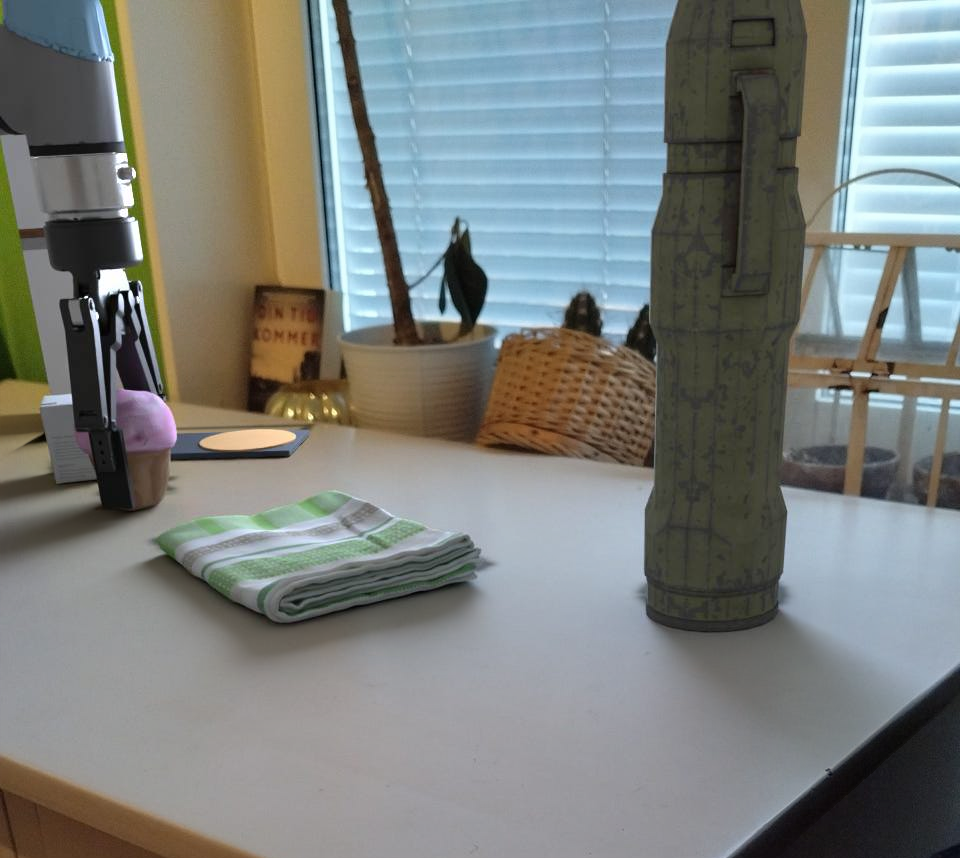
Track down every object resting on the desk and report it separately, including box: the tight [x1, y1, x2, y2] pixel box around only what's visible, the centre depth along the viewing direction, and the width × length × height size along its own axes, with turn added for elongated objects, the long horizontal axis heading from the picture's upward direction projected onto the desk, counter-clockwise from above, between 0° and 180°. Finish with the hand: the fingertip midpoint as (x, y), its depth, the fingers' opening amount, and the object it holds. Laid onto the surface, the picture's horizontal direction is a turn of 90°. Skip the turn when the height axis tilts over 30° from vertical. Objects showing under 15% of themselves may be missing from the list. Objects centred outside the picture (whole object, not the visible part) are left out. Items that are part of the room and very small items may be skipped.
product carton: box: [39, 394, 97, 485], centre depth 128 cm, size 6×6×7 cm
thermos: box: [643, 0, 808, 632], centre depth 78 cm, size 9×12×35 cm
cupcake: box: [73, 389, 178, 512], centre depth 116 cm, size 9×9×10 cm
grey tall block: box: [0, 135, 124, 396], centre depth 143 cm, size 11×11×35 cm
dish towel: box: [156, 489, 485, 624], centre depth 98 cm, size 17×23×4 cm
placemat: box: [170, 428, 310, 460], centre depth 138 cm, size 24×10×1 cm, turn 85°
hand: (136, 493), depth 118 cm, fingers closed on cupcake, 9 cm apart
